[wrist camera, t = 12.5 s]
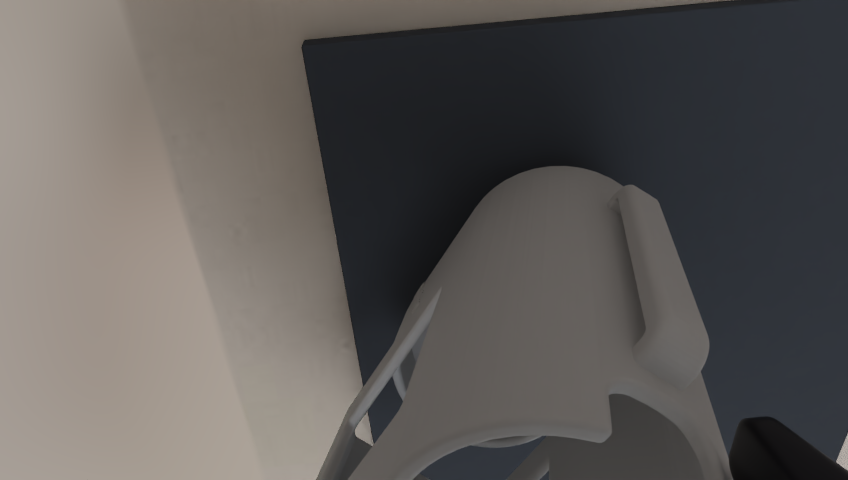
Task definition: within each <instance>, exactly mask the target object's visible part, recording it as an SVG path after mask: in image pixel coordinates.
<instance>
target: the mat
mask: <svg viewBox="0 0 848 480" xmlns="http://www.w3.org/2000/svg"><path fill="white" fill-rule="evenodd" d="M302 52H303V58H304V63H305V69H306V74H307V80H308V85H309V91H310V96H311V102H312V107H313V113H314V118H315V124H316V129H317V135H318V140H319V146H320V151H321V157H322V162H323V168H324V173H325V179H326V184H327V190H328V195H329V201H330V206H331V212H332V217H333V223H334V228H335V234H336V239H337V245H338V250H339V256H340V261H341V267H342V272H343V278H344V283H345V289H346V294H347V300H348V305H349V311H350V316H351V322H352V327H353V333H354V338H355V344H356V349H357V355H358V360H359V366H360V371H361V377H362V382H363V387H364V385H365V384H366V382H367V381H368V379H369V378H370V377H371V375H372V374H373V372H374V371H375V369H376V368H377V366H378V365H379V363H380V362H381V361H382V359H383V358H384V356H385V355H386V353H387V352H388V350H389V349H390V347H391V346H392V345H393V343H394V341H395V338H396V335H397V333H398V331H399V328H400V326H401V323H402V321H403V319H404V316H405V314H406V311H407V309H408V308H409V306H410V304H411V302H412V301H413V299H414V296H415V294H416V293H417V291H418V290H419V288H420V286H421V285H422V284H423V282H424V283H425V282H426V280H427V279H428V277H429V276H430V274H431V273H432V271H433V270H434V268H435V267H436V265H437V264H438V262H439V261H440V259H441V258H442V256H443V255H444V253H445V252H446V251H447V249H448V248H449V246H450V245H451V243H452V242H453V240H454V239H455V237H456V236H457V234H458V233H459V231H460V230H461V228H462V227H463V225H464V224H465V222H466V221H467V220H468V218H469V217H470V215H471V214H472V212H473V211H474V209H475V208H476V206H477V205H478V204H479V203H480V201H481V200H482V199H483V198H484V197H485V196H486V195H487V194H488V193H489V192H490V191H491V190H492V189H493V188H495V187H496V186H498V185H499V184H500V183H502V182H503V181H505V180H507V179H509V178H511V177H513V176H515V175H517V174H519V173H522V172H525V171H528V170H532V169H535V168H542V167H548V166H570V167H578V168H583V169H587V170H591V171H594V172H597V173H600V174H602V175H604V176H607V177H609V178H611V179H613V180H614V181H616V182H617V183H619V184H621V185H622V186H626V185H634V186H636V187H638V188H639V189H641V190H642V191H644V192H646V193H647V194H649V195H650V196H652V197H654V198H655V199H657V201H658V202H659V204H660V207H661V210H662V212H663V215H664V218H665V220H666V223H667V226H668V229H669V231H670V234H671V237H672V239H673V242H674V245H675V248H676V250H677V253H678V256H679V258H680V261H681V264H682V267H683V269H684V272H685V275H686V277H687V280H688V283H689V286H690V288H691V291H692V294H693V296H694V299H695V302H696V305H697V307H698V310H699V313H700V315H701V318H702V321H703V324H704V326H705V329H706V332H707V334H708V338H709V353H708V357H707V360H706V362H705V364H704V366H703V368H702V370H701V374H702V377H703V380H704V383H705V387H706V390H707V393H708V396H709V399H710V402H711V405H712V408H713V411H714V415H715V418H716V421H717V424H718V427H719V430H720V433H721V436H722V439H723V443H724V446H725V449H726V452H727V455H728V458H729V454H730V450H731V447H732V443H733V440H734V436H735V433H736V430H737V426H738V424H739V422H740V421H741V420H742V419H744V418H751V417H762V416H769V417H772V418H775V419H777V420H778V421H780V422H781V423H782V424H784V425H785V426H787V427H788V428H789V429H791V430H792V431H793V432H795V433H796V434H798V435H799V436H800V437H802V438H803V439H804V440H806V441H807V442H809V443H810V444H811V445H813V446H814V447H815V448H817V449H818V450H820V451H821V452H822V453H824V454H825V455H826V456H828V457H829V458H831V459H832V460H833V461H835V462H836V460H837V458H838V455H839V453H840V450H841V448H842V446H843V443H844V441H845V438H846V436H847V433H848V0H734V1H723V2H712V3H701V4H690V5H680V6H669V7H658V8H647V9H636V10H625V11H615V12H604V13H593V14H582V15H571V16H560V17H550V18H539V19H528V20H517V21H506V22H495V23H485V24H474V25H463V26H452V27H441V28H430V29H420V30H409V31H398V32H387V33H376V34H365V35H355V36H344V37H333V38H322V39H311V40H304V42H303V44H302ZM402 403H403V400H402V398H401V397H400V395H399V393H398V391H397V388H396V386H395V383H394V380H393V376H392V377H391V378H390V380H389V381H388V383H387V384H386V385H385V387H384V388H383V390H382V391H381V392H380V394H379V395H378V397H377V398H376V399H375V401H374V402H373V404H372V405H371V406H370V408H369V409H368V415H369V421H370V426H371V432H372V437H373V443H374V444H375V442H376V441H377V440H378V438H379V437H380V436H381V434H382V433H383V431H384V430H385V429H386V427H387V426H388V425H389V423H390V422H391V421H392V419H393V418H394V417H395V415H396V414H397V412H398V411H399V409H400V407H401V405H402ZM545 438H546V436H541V437H539V438H537V439H535V440H532V441H530V442H527V443H524V444H520V445H515V446H510V447H501V448H489V447H478V446H472V445H470V446H467V447H464V448H461V449H458V450H456V451H454V452H452V453H450V454H447V455H445V456H443V457H441V458H440V459H438V460H437V461H435V462H433V463H432V464H430V465H429V466H427V467H426V468H425V469H424V470H422V471H421V472H420V473H419V474H421V475H423V476H424V477H426V478H428V479H430V480H506V479H507V478H508V477H509V476H510V475H511V474H512V473H513V472H514V471H515V469H516V468H517V467H518V466H519V465H520V464H521V463H522V462H523V461H524V460H525V459H526V458H527V457H528V456H529V455H530V454H531V452H532V451H533V450H534V449H535V448H536V447H537V446H538V445H539V444H540V443H541V442H542V441H543V440H544V439H545ZM540 480H549V471H548V472H547V473H546V474H545V475H544V476H543V477H542V478H541V479H540Z"/></svg>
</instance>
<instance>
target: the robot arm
mask: <svg viewBox="0 0 848 480" xmlns="http://www.w3.org/2000/svg"><path fill="white" fill-rule="evenodd" d="M729 467H730V472H731V475H732V478H733V480H848V471H847V470H846V469H844V468H843V467H842V466H840V465H839V464H837V463H836V462H835V461H833V460H832V459H831V458H829V457H828V456H826V455H825V454H824V453H822V452H821V451H820V450H818V449H817V448H815V447H814V446H813V445H811V444H810V443H809V442H807V441H806V440H804V439H803V438H802V437H800V436H799V435H798V434H796V433H795V432H793V431H792V430H791V429H789V428H788V427H787V426H785V425H784V424H782V423H781V422H780V421H778V420H777V419H775V418H772V417H769V416H762V417H751V418H744V419H742V420H741V421H740V422H739V424H738V426H737V430H736V433H735V436H734V440H733V443H732V447H731V450H730V454H729Z"/></svg>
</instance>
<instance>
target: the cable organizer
mask: <svg viewBox="0 0 848 480" xmlns="http://www.w3.org/2000/svg"><path fill="white" fill-rule="evenodd" d="M708 353H709V338H708V334H707V332H706V329H705V326H704V324H703V321H702V318H701V315H700V313H699V310H698V307H697V305H696V302H695V299H694V296H693V294H692V291H691V288H690V286H689V283H688V280H687V277H686V275H685V272H684V269H683V267H682V264H681V261H680V258H679V256H678V253H677V250H676V248H675V245H674V242H673V239H672V237H671V234H670V231H669V229H668V226H667V223H666V220H665V218H664V215H663V212H662V210H661V207H660V204H659V202H658V201H657V199H655V198H654V197H652V196H650V195H649V194H647V193H646V192H644V191H642V190H641V189H639V188H638V187H636V186H634V185H626V186H622V185H621V184H619V183H617V182H616V181H614V180H613V179H611V178H609V177H607V176H604V175H602V174H600V173H597V172H594V171H591V170H587V169H583V168H578V167H570V166H548V167H542V168H535V169H532V170H528V171H525V172H522V173H519V174H517V175H515V176H513V177H511V178H509V179H507V180H505V181H503V182H502V183H500V184H499V185H498V186H496V187H495V188H493V189H492V190H491V191H490V192H489V193H488V194H487V195H486V196H485V197H484V198H483V199H482V200H481V201H480V203H479V204H478V205H477V206H476V208H475V209H474V211H473V212H472V214H471V215H470V217H469V218H468V220H467V221H466V222H465V224H464V225H463V227H462V228H461V230H460V231H459V233H458V234H457V236H456V237H455V239H454V240H453V242H452V243H451V245H450V246H449V248H448V249H447V251H446V252H445V253H444V255H443V256H442V258H441V259H440V261H439V262H438V264H437V265H436V267H435V268H434V270H433V271H432V273H431V274H430V276H429V277H428V279H427V280H426V282H425V283H424V282H423V284H422V285H421V286H420V288H419V290H418V291H417V293H416V294H415V296H414V299H413V301H412V302H411V304H410V306H409V308H408V309H407V311H406V314H405V316H404V319H403V321H402V323H401V326H400V328H399V331H398V333H397V335H396V338H395V341H394V343H393V345H392V346H391V347H390V349H389V350H388V352H387V353H386V355H385V356H384V358H383V359H382V361H381V362H380V363H379V365H378V366H377V368H376V369H375V371H374V372H373V374H372V375H371V377H370V378H369V379H368V381H367V382H366V384H365V385H364V387H363V388H362V390H361V391H360V393H359V394H358V395H357V397H356V398H355V400H354V401H353V403H352V404H351V406H350V407H349V409H348V411H347V413H346V415H345V417H344V419H343V422H342V424H341V426H340V428H339V430H338V433H337V435H336V437H335V439H334V441H333V444H332V446H331V448H330V450H329V452H328V455H327V457H326V459H325V461H324V463H323V466H322V468H321V470H320V472H319V475H318V477H317V479H316V480H430V479H428V478H426V477H424V476H423V475H421V474H419V473H420V472H421V471H422V470H424V469H425V468H426V467H427V466H429V465H430V464H432V463H433V462H435V461H437V460H438V459H440V458H441V457H443V456H445V455H447V454H450V453H452V452H454V451H456V450H458V449H461V448H464V447H467V446H470V445H472V446H478V447H489V448H501V447H510V446H515V445H520V444H524V443H527V442H530V441H532V440H535V439H537V438H539V437H541V436H546V438H545V439H544V440H543V441H542V442H541V443H540V444H539V445H538V446H537V447H536V448H535V449H534V450H533V451H532V452H531V454H530V455H529V456H528V457H527V458H526V459H525V460H524V461H523V462H522V463H521V464H520V465H519V466H518V467H517V468H516V469H515V471H514V472H513V473H512V474H511V475H510V476H509V477H508V478H507V479H506V480H540V479H541V478H542V477H543V476H544V475H545V474H546V473H547V472H548V471H549V480H733V478H732V475H731V472H730V467H729V458H728V455H727V452H726V449H725V446H724V443H723V439H722V436H721V433H720V430H719V427H718V424H717V421H716V418H715V415H714V411H713V408H712V405H711V402H710V399H709V396H708V393H707V390H706V387H705V383H704V380H703V377H702V374H701V370H702V368H703V366H704V364H705V362H706V360H707V357H708ZM392 376H393V380H394V383H395V386H396V388H397V391H398V393H399V395H400V397H401V398H402V400H403V403H402V405H401V407H400V409H399V411H398V412H397V414H396V415H395V417H394V418H393V419H392V421H391V422H390V423H389V425H388V426H387V427H386V429H385V430H384V431H383V433H382V434H381V436H380V437H379V438H378V440H377V441H376V442H375V444H374V445H373V446H371V445H369V444H368V443H366V442H364V441H362V440H361V439H359V438H357V437H356V435H355V431H354V430H355V428H356V427H357V425H358V423H359V422H360V421H361V419H362V418H363V416H364V415H365V413H366V412H367V411H368V409H369V408H370V406H371V405H372V404H373V402H374V401H375V399H376V398H377V397H378V395H379V394H380V392H381V391H382V390H383V388H384V387H385V385H386V384H387V383H388V381H389V380H390V378H391V377H392Z"/></svg>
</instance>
